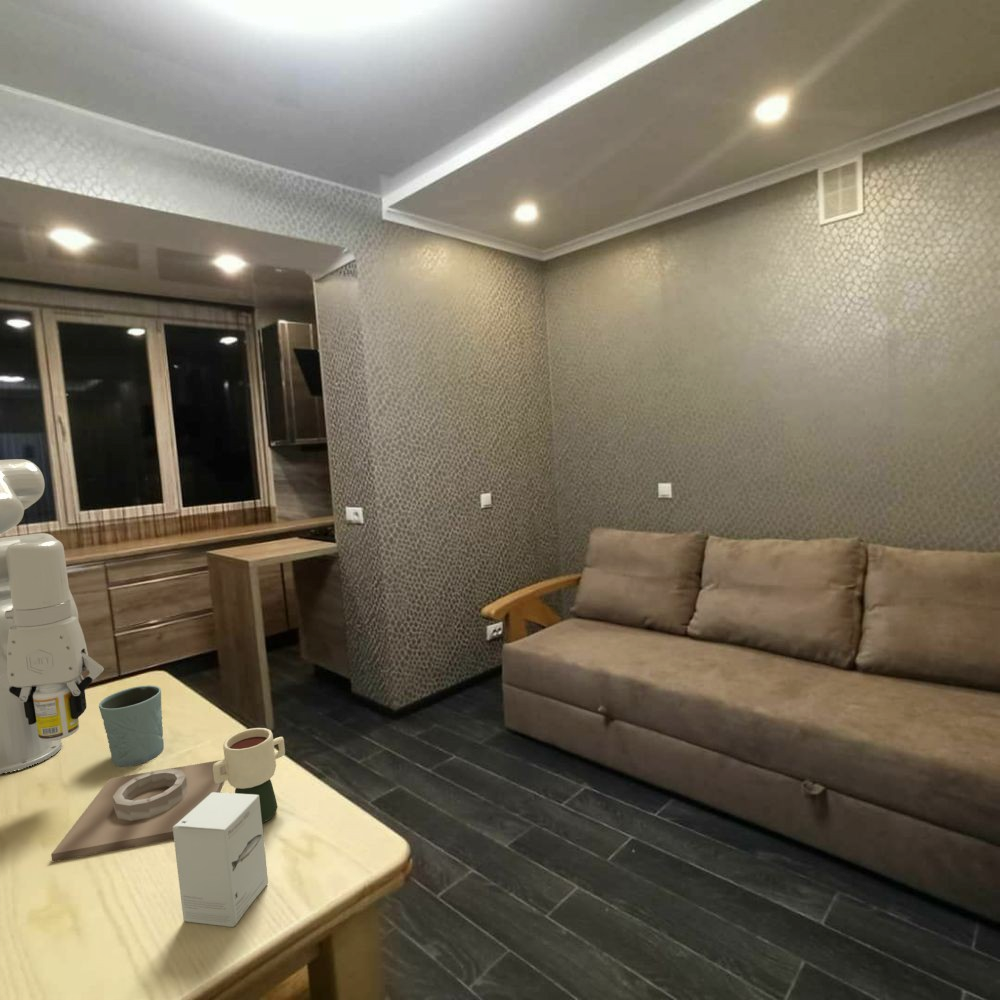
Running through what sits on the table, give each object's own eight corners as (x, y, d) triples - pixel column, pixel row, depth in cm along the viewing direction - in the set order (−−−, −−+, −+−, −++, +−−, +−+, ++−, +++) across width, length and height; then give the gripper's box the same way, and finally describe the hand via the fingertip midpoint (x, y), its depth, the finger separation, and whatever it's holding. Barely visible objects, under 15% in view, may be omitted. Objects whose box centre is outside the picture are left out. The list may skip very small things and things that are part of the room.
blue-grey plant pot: (172, 737, 120) (165, 681, 119) (161, 762, 111) (153, 701, 110) (116, 748, 117) (108, 691, 116) (99, 775, 108) (90, 712, 106)
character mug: (280, 792, 98) (272, 718, 97) (300, 809, 93) (292, 731, 92) (212, 824, 91) (202, 744, 90) (229, 845, 86) (219, 761, 84)
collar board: (52, 861, 85) (48, 837, 84) (110, 784, 104) (108, 765, 104) (202, 833, 89) (199, 810, 89) (231, 764, 108) (229, 745, 108)
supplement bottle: (74, 723, 103) (67, 667, 102) (84, 732, 100) (76, 674, 98) (34, 736, 99) (26, 678, 98) (43, 746, 95) (35, 686, 94)
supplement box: (235, 929, 71) (223, 830, 69) (181, 922, 72) (169, 826, 71) (270, 883, 78) (260, 793, 76) (221, 878, 79) (211, 789, 78)
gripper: (-33, 627, 91) (-16, 736, 93) (92, 615, 95) (105, 721, 97) (-3, 613, 99) (11, 715, 101) (111, 602, 102) (123, 701, 105)
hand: (57, 717), depth 99 cm, fingers closed on supplement bottle, 5 cm apart
